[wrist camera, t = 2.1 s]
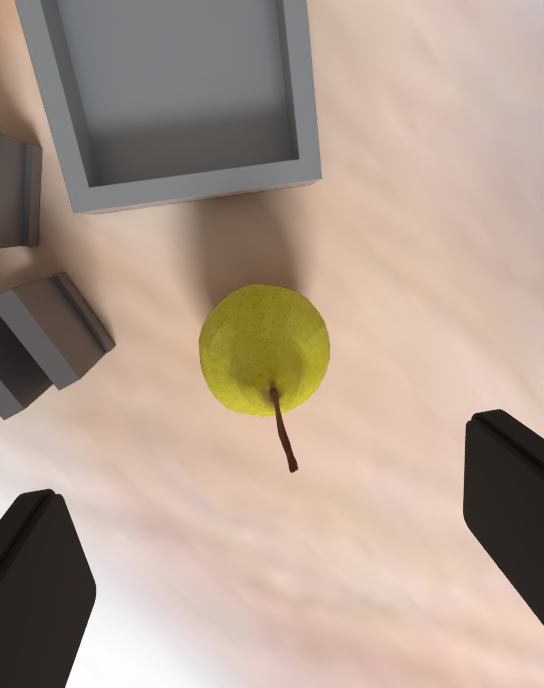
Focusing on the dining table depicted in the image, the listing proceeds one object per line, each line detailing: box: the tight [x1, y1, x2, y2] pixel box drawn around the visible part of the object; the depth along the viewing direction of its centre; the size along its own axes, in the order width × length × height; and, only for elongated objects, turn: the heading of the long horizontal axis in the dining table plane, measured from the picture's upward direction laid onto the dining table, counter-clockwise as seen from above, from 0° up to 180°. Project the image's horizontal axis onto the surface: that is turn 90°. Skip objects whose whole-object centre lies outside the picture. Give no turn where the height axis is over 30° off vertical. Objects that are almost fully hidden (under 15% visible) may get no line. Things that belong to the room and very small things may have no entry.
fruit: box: [199, 284, 330, 473], centre depth 18 cm, size 7×7×12 cm
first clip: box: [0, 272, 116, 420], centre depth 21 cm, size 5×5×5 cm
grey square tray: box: [15, 0, 322, 214], centre depth 18 cm, size 12×12×3 cm
